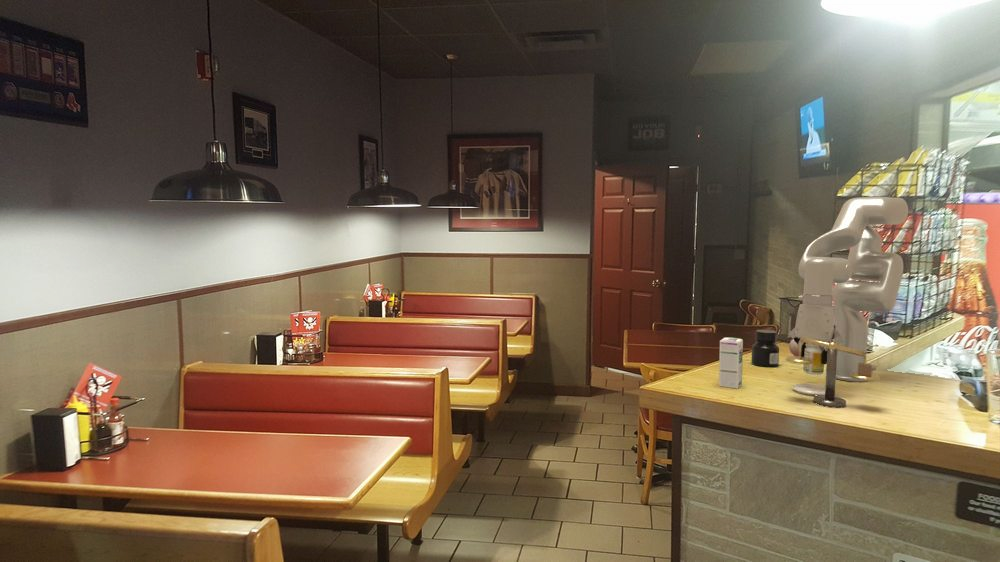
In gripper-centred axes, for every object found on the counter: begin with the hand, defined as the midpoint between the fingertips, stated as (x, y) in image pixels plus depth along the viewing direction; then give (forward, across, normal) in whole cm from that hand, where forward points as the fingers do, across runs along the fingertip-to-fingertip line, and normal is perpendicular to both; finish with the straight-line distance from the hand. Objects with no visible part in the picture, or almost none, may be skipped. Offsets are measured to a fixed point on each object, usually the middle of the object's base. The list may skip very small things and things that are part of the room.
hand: (814, 361), depth 181 cm
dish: (+9, 0, 0) cm, 9 cm away
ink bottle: (+9, -26, +26) cm, 37 cm away
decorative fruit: (+9, -20, +41) cm, 47 cm away
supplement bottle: (+4, 0, 0) cm, 4 cm away
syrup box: (+10, -20, -11) cm, 25 cm away
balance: (+9, +8, -9) cm, 15 cm away
